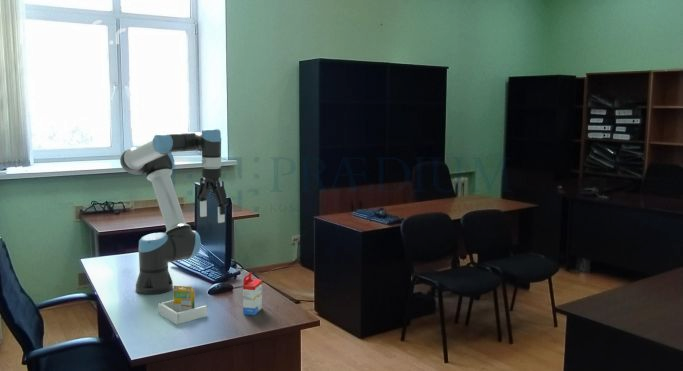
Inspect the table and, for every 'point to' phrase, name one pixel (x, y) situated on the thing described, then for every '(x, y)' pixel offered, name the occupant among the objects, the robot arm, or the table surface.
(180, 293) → the crayon box
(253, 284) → the ink box
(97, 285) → the table surface
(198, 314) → the tray
